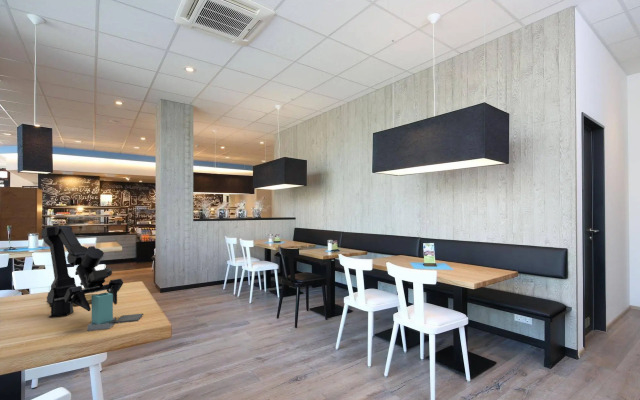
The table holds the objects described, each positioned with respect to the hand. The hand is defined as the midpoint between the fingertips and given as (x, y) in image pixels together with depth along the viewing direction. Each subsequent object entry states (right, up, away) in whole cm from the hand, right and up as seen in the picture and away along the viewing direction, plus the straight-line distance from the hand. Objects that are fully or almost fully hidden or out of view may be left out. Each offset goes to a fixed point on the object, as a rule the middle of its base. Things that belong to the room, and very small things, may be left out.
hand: (103, 307), depth 121 cm
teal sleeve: (-1, -5, 0) cm, 5 cm away
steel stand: (-1, -7, 0) cm, 7 cm away
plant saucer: (-35, -10, +36) cm, 51 cm away
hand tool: (-50, -11, +36) cm, 62 cm away
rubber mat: (+5, -8, +8) cm, 12 cm away
